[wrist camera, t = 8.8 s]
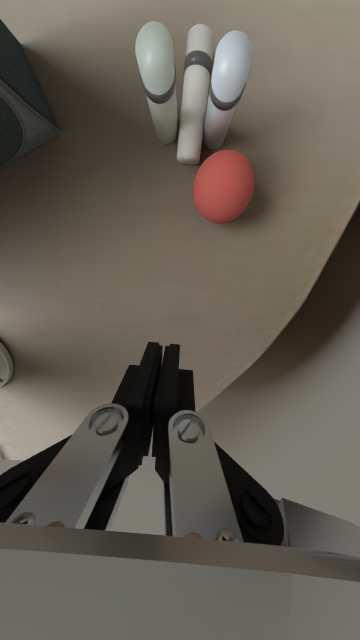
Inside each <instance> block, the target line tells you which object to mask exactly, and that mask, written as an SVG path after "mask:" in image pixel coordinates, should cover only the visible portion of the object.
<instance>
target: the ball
mask: <svg viewBox="0 0 360 640" xmlns="http://www.w3.org/2000/svg"><path fill="white" fill-rule="evenodd" d="M254 184H255V178H254V172H253V169H252V166H251V164H250V162H249V161H248V159H247V158H246V157H245V156H244V155H243V154H241V153H239V152H237V151H235V150H221V151H218V152H216V153H214V154H212V155H211V156H209V157H208V158H207V159H206V160H205V161H204V162H203V164H202V165H201V166H200V168H199V170H198V172H197V174H196V177H195V180H194V186H193V196H194V201H195V205H196V207H197V209H198V211H199V212H200V214H201V215H202V216H203V217H204V218H206V219H207V220H209V221H211V222H215V223H225V222H229V221H231V220H233V219H235V218H237V217H238V216H239V215H240V214H241V213H242V212H243V211H244V210H245V209H246V207H247V206H248V204H249V202H250V200H251V198H252V195H253V191H254Z"/></svg>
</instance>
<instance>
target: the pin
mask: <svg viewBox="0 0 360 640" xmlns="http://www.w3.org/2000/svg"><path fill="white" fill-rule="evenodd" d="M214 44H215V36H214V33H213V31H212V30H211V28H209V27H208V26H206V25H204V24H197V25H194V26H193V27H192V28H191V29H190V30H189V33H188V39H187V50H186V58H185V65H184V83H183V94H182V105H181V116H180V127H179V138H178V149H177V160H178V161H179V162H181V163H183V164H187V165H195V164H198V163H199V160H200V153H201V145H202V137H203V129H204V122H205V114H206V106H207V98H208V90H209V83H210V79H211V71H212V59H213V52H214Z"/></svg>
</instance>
